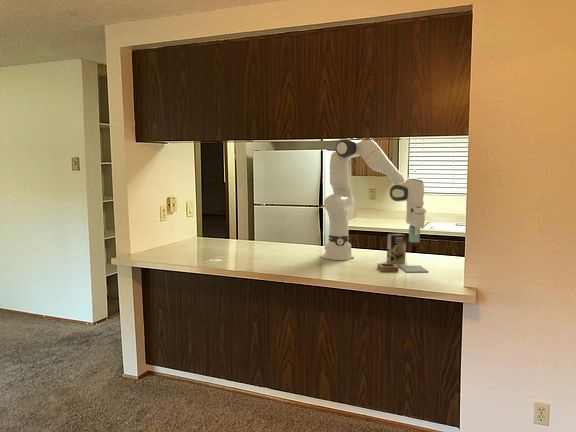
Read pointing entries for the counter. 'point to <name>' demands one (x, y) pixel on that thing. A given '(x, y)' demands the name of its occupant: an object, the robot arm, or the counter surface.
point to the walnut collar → (388, 267)
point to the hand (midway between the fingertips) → (414, 234)
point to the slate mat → (414, 269)
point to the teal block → (411, 235)
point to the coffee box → (396, 248)
